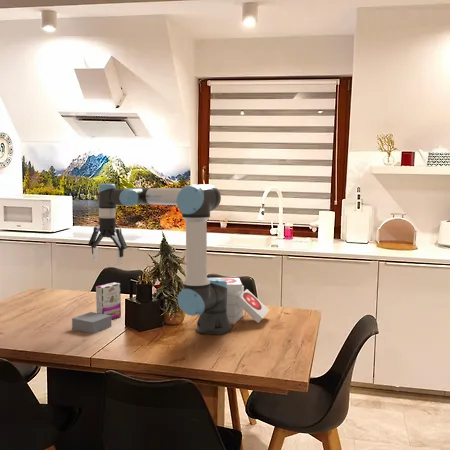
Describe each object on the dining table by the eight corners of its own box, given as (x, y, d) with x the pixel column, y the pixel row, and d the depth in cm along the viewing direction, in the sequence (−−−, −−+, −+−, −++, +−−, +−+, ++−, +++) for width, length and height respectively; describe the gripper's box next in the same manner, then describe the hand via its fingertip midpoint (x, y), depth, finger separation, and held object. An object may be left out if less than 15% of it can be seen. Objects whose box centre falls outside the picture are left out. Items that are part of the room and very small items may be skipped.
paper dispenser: (261, 327, 240) (262, 288, 238) (199, 321, 249) (199, 283, 247) (270, 316, 258) (271, 280, 256) (211, 310, 267) (212, 275, 265)
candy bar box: (114, 315, 257) (114, 281, 255) (121, 317, 254) (121, 283, 252) (95, 320, 248) (95, 285, 246) (102, 322, 245) (102, 287, 243)
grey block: (111, 326, 239) (111, 315, 238) (93, 333, 228) (93, 322, 228) (90, 322, 244) (90, 311, 244) (72, 329, 234) (72, 318, 233)
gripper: (134, 218, 243) (134, 263, 246) (90, 215, 253) (91, 258, 256) (125, 219, 236) (125, 266, 239) (80, 216, 246) (80, 261, 249)
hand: (107, 262), depth 247 cm, fingers open, 13 cm apart
